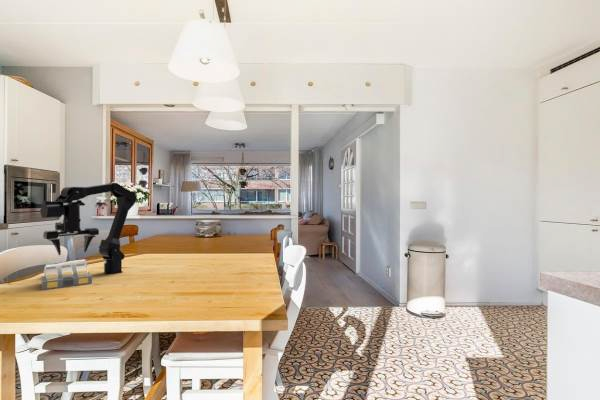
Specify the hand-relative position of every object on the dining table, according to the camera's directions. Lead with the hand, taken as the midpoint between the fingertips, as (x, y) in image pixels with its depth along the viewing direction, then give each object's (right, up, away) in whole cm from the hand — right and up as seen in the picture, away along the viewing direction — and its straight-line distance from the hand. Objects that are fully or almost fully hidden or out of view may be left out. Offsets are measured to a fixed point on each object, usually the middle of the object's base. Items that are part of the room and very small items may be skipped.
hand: (72, 253), depth 142 cm
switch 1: (-2, -6, -9) cm, 11 cm away
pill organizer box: (+2, -11, -6) cm, 13 cm away
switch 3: (+5, -6, -3) cm, 9 cm away
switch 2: (+2, -6, -6) cm, 9 cm away
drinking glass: (-15, -9, +4) cm, 18 cm away
